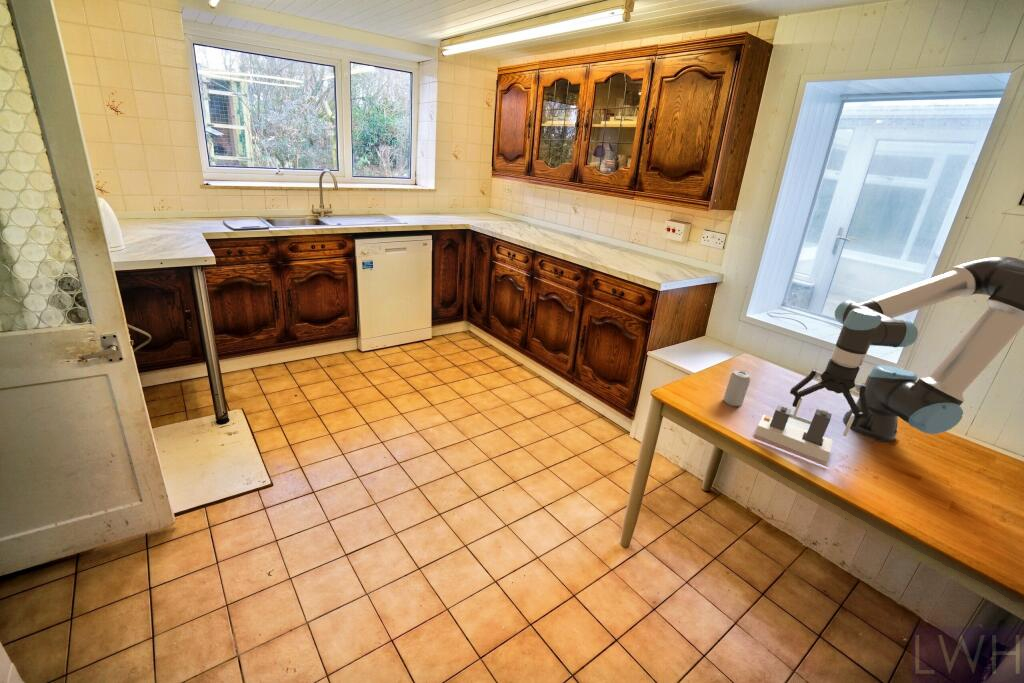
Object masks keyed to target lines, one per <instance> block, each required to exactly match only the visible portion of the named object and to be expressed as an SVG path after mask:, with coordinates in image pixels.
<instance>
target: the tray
mask: <svg viewBox="0 0 1024 683" xmlns="http://www.w3.org/2000/svg"><path fill="white" fill-rule="evenodd" d="M793 414H794V413H792V412H791V413H790V416H789V418H788V421H787V423H788V424H791V425H794V426H796V427H799V428H802V429H805V430H807V431H808V429H809V427H810V424H811V422H812V420H811V419H808V418H805V417H803V416H799V415H797V414H796V417H795V418H792V416H793Z"/></svg>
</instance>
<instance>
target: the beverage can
mask: <svg viewBox="0 0 1024 683" xmlns="http://www.w3.org/2000/svg"><path fill="white" fill-rule="evenodd" d="M727 383H728V384H727V386H726V389H725V393H724V395H723V401H724V402H725V404H726V405H729V406H732V407H735V408H736V407H741V406H742V405H743V403H744V400H745V397H746V395H747V391H748V388H749V385H750V383H751V374H750V373H749V372H746V371H743V370H740V369H736V370H735V369H734V370H733V371H732V373H731V374H730V377H729V379H728V382H727Z"/></svg>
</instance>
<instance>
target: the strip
mask: <svg viewBox="0 0 1024 683" xmlns="http://www.w3.org/2000/svg"><path fill="white" fill-rule="evenodd" d="M790 413H791V414H792V409H791V408H790V409H789V408H788V406H785V405H777V406H776V408H775V410H774V413H773V417H772V416H770V415H768V414H763V415H762V417H761V419H760V421H759V423H758V425H757V427H756V430H755V433H754V435H755V436H757V437H760V438H763V439H765V440H767V441H768V440H769V441H770V442H773V443H775V444H779V445H781V446H784V447H786V448H788V449H790V450H791V449H792V450H794V451H797V452H799V453H802V454H804V455H806V456H809V457H813V458H815V459H816V460H820V461H822V462H825V463H827V460H828V458H829V456H830V454H831V451H832V446H833V445H832V444H833V439H832V438H829V437H826V436H825V435H824V436H823V438H822V441H821V443H820V445H816V444H814V443H811V442H808V441H806V440H804V439H805V437H806V434H807V432H808V431H807V430H805V429H802V428H799V427H796V426H794V425H791V424H788V423H787V421H788V418H789V416H790Z"/></svg>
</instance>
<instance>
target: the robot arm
mask: <svg viewBox="0 0 1024 683" xmlns="http://www.w3.org/2000/svg"><path fill="white" fill-rule="evenodd" d="M972 295H983V296H989V297H988V298H987V300H986V301H987V305H988V308H987V310H985V311H984V313H983V314H982V315H981V316H980V317H979V318H978V320H977V321H976V322H975V323H974V324H973V326H972V327H971V328H969V330H968V332H966V333H965V335H964V336H963V337H962V338H961V339H960V341H958V343H957V344H956V345H955V346H954V348H953V349H952V350H951V351H950V352H949V354H948V355H947V356H946V357H945V358H944V359H943V360H942V361H941V362H940V364H938V366H937V367H936V368H935V369H934V370H933V372H932V373H931V374H930V375H928V376H923V377H920V378H919V379H918V375H917V374H916V373H915V372H913V371H910V370H908V369H904V368H901V367H899V366H898V367H897V366H893V365H892V366H891V365H885V364H884V365H874V367H872V369H871V370H870V373H869V374H868V376H867V378H866V380H865V383H858V382H857V383H856V382H855V381H856V379H857V376H858V374H859V372H860V367H861V366H862V365H863V362H864V360H865V357H866V355H867V353H868V350H869V348H870V347H871V346H877V347H891V348H906V347H910V346H912V345H913V344H914V343H916V340H917V338H918V336H919V332H918V331H919V330H918V327H917V325H916V324H914V323H913V322H912V321H909V320H904V319H895V318H896V317H897V318H898V317H900V316H902V315H905V314H908V313H912V312H914V311H919V310H921V309H923V308H927V307H930V306H932V305H935V304H939V303H940V302H944V301H947V300H950V299H953V298H956V297H961V298H967V297H969V296H972ZM834 318H835V320H836V321H837V322H838V323H840V324H841V325H842V327H841V330H840V332H839V336H838V337H837V340H836V343H835V345H834V348H833V350H832V352H831V354H830V359H828V361H827V364H826V367H825V370H824V371H823V372H821V371H819V370H817V368H812V369H811V371H810V373H809V374H808V375H807V376H805V377H804V378H803V379H802V380H800V381H799V382H798V383H797V384H796V385H794V386H793V387H791V389H790V391H789V394H790V395H793V396H794V400H793V402H792V407H794V408H795V409H794V412H793V413H792V414H793V416H792V418H795V417H796V415H797V414H798V411H799V409H800V407H801V404H802V401H803V399H804V397H805V396H807V395H810V394H812V393H814V392H817V391H818V390H822V389H823V390H824V389H826V390H827V391H829V392H834V393H836V394H842V395H843V397H844V398H845V400H846V402H847V404H848V405H849V407H850V409H849V410H848V411H846V413H845V414H844V416H843V418H842V421H843V423H844V425H845V428H844V430H843V433H842V436H843V437H847V436H848V433H849V431H850V429H851V430H853V431H854V432H855V433H858V434H861V435H862V436H865V437H867V438H871V439H874V441H880V442H892V441H894V440H895V439H896V437H897V434H898V418H900V419H901V420H902V421H904V422H905V423H907V424H909V426H910V427H911V428H914V429H917V430H918V431H919V432H922V433H924V434H928V435H938V434H940V433H941V434H943V433H945V432H947V431H950V430H951V429H953V428H954V427H956V426H957V425H958V424H959V423H960V422H961V421H962V419H963V415H964V410H963V408H962V407H961V405H962V404H963V403H964V402H965V398H964V396H963V395H964V392H965V391H966V390H967V389H968V388H969V387H970V385H971V384H972V383H973V382H974V381H975V380H976V379H977V378H978V377H979V375H981V373H982V372H983V371H985V369H986V368H987V367H988V366H989V365H990V363H991V362H992V361H993V360H994V359H995V358H996V357H997V356H998V355H999V353H1001V351H1002V350H1003V349H1004V348H1005V347H1006V346H1007V344H1009V342H1011V340H1012V339H1013V338H1014V337H1015V336H1016V335H1017V334H1018V333H1019V332H1020V330H1021V329H1023V327H1024V259H1019V258H1017V257H1013V256H1012V257H1011V256H994V257H993V256H992V257H984V258H981V259H975V260H972V261H971V260H970V261H968V262H963V263H961V264H958V265H956V266H952V267H950V268H948V269H947V271H946V272H945V273H943V274H939V275H936V276H933V277H930V278H927V279H925V280H922V281H919V282H917V283H914V284H911V285H908V286H904V287H901V288H899V289H896V290H893V291H891V292H890V291H889V292H888V293H884V294H882V295H879V296H876V297H874V298H870V299H867V300H863V301H861V302H857V301H853V300H844V301H843V302H841V303H840V304H838V306H836V309H835V310H834ZM818 377H820V380H821V381H820V382H817V383H815V384H813V385H811V386H809V387H808V386H807V387H806V388H803V387H805V386H806V385H808V384H809V383H810V382H811V381H812V380H813V379H817V378H818ZM802 388H803V389H802ZM854 388H855V390H856V392H859V393H858V394H859V397H858V400H856V402H855V399H854V397H853V395H852V394H851V391H850V390H851V389H854ZM801 389H802V390H801Z"/></svg>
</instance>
